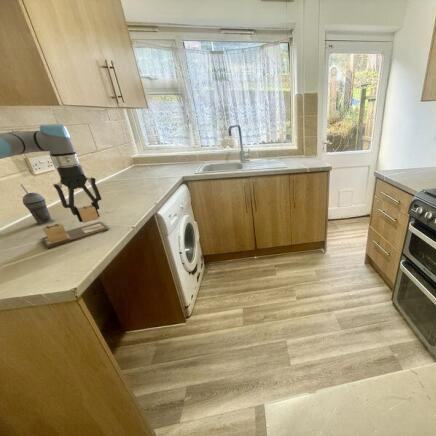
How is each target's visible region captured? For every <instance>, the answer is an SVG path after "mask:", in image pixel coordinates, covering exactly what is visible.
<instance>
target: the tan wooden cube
mask: <svg viewBox="0 0 436 436" xmlns="http://www.w3.org/2000/svg"><path fill="white" fill-rule="evenodd" d="M77 209H78V212H79V214H80V216H81V219H82V221H83V222H82V223H83V224H85V223H89V222H92V221H93V222H94V221H97V220H99V219H100V217H98V214H97V212H96V209H95V207H94V206H92V204H88V205H84V206H83V205H82V206H78V207H77Z"/></svg>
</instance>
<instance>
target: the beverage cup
mask: <svg viewBox="0 0 436 436" xmlns="http://www.w3.org/2000/svg"><path fill="white" fill-rule="evenodd" d="M20 186H21V187H22V189H23V190H24V192H25V193H26V194H25V195H24V196H23V197H22V204H23V205H24V206H25V207H26V209H28V211H29V213H30V214H31V216H32V217H33V219H34V220H35V221H36V222H37V224H39V225H42V224H43V225H44V224H47V223H50V222H51V221H52V217H51V214H50V212H49V209H48V205H47V203H46V199H45V198H44V196H43V195H42V194H39V193H38V192H28V190H27V189H26V187H25V186H24V185H23V184H21V183H20Z"/></svg>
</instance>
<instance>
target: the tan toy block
mask: <svg viewBox="0 0 436 436" xmlns="http://www.w3.org/2000/svg"><path fill="white" fill-rule="evenodd" d="M41 228H42V230H43V232H44V235H45V237H47V238H48V240H49V241H50V243H52V242H56V241H59V240H62V239H66V238H68V236H67V234H66V231H67V230H65V227H64V225H63V224H62V223H61V222H55V223H52V224H48V225H45V226H42V227H41Z"/></svg>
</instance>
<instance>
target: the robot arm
mask: <svg viewBox="0 0 436 436" xmlns="http://www.w3.org/2000/svg"><path fill="white" fill-rule="evenodd" d="M43 152H49V154H50V156H51V159H52V161H53V164H54V166H55V167H56V171H57V173H58V175H59V178H60V180H59V182H57V183H53V184H52V186H53V187H54V189H56V192H57V194H58V197H59V200H60V202H61V205H62V207H63V208H65V209H70V212H71V214H72V215H73V216H76V217H77V219H78V222H79V223H83V221H82V219H81V216H80V214H79V212H78V209H77V208H78V207H77V206H76V205H75V190H77V189H82V190H83V191H84V193H85V194H86V195H87V196H88V197H89V199H90V200H91V202H90V205H92V206H94V207H95V209H96V212H97V214H98V217H99V218H101V217H100V213H99V211H98V210H100V206H99V203H98V202H99V201H102V199H103V198H102V196H101V193H100V191H99V189H98V187H97V184H96V178H95V177H92V176H91V177H89V176H88V177H87V175H85V173H84V171H83V168H82V165H81V162H80V159H79V157H78V155H77V152H76V150H75V147H74V144H73V141H72V138H71V135H70V133H69V132H68V128H67V127H66V126H65V125H64V124H60V123H58V124H40V125H39V130H18V131H17V130H15V131H6V132H0V160H2V159H6V158H10V157H15V156H20V155H25V154H31V153H43ZM87 181H88V183H89V184H90V186H91V188H92V190H93V191H92V192H93V193H94V195H95V196H94V195H93V194H92V192H91V191H90V190H89V189H88V187H87V186H86V184H87ZM63 186H65V187H67V191H68V203H67V200H66V197H65V194H64V192H63V190H62V189H63Z"/></svg>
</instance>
